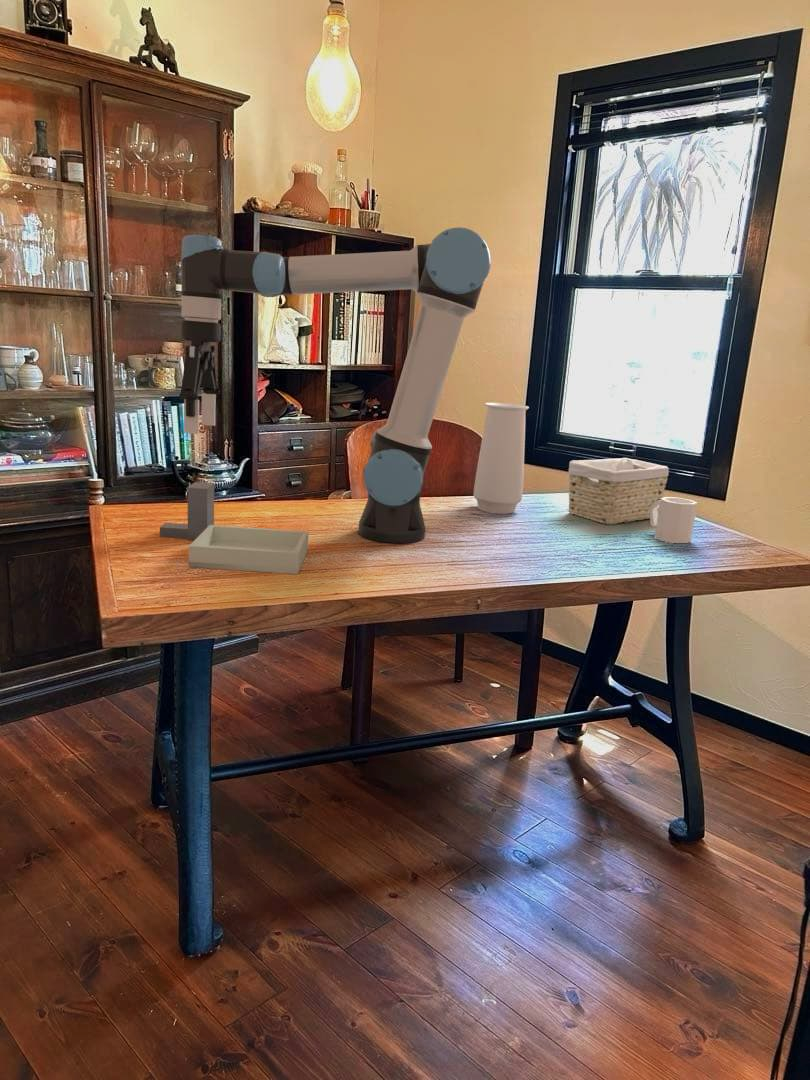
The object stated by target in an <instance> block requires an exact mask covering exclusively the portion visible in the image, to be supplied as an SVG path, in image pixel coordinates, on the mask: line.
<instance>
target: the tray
mask: <svg viewBox="0 0 810 1080" xmlns="http://www.w3.org/2000/svg"><path fill="white" fill-rule="evenodd" d="M308 551H309V531H307V530H294V529H291V530H290V529H276V528H262V527H260V528H259V527H248V526H247V527H245V526H235V525H220V524H219V525H218V524H214V525H209V526H208V527H207V528H206V529H205V530H204V531H203V532H202V533H201V534H200V535H199V536H198V537H197V538H196V539H195V540H192V542H191V543H190V544H189V546H188V567H189V568H198V569H199V568H201V569H202V568H203V569H215V570H230V571H242V572H243V571H245V572H259V573H260V572H261V573H274V574H275V573H277V574H292V575H293V574H294V575H298V574H299V572H300V569H301V567H302V565H303V563H304V561H305V558H306V556H307V553H308Z"/></svg>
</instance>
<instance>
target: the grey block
mask: <svg viewBox="0 0 810 1080" xmlns="http://www.w3.org/2000/svg"><path fill="white" fill-rule="evenodd" d="M209 525H215V483H214V482H200V481H194V482H193V483H192V484H190V485H188V487H187V523H176V522H164V523H163V524H162V525H161V526H160V527H159V537H161V538H174V539H177V538H178V539H187V540H188V541H194V540H195V539H196V538H197V537H198V536H199V535H200V534H201V533H202V532H203V531H204V530H205V529H206V528H207V527H208V526H209Z"/></svg>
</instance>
